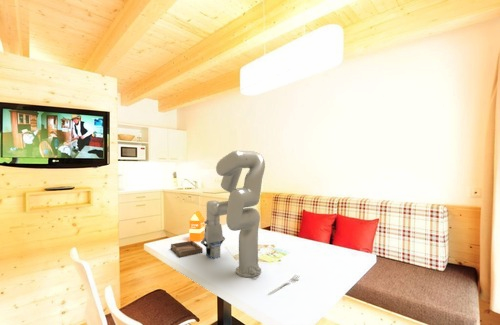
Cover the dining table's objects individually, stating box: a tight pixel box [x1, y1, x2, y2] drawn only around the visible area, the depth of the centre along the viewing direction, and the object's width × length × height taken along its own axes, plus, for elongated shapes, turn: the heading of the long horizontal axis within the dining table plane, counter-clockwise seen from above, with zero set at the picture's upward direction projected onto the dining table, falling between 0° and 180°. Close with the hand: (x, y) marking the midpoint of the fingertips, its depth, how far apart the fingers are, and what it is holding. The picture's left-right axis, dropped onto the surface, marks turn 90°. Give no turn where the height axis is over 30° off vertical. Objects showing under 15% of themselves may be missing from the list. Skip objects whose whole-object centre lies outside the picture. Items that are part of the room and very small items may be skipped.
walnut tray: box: [170, 240, 204, 258], centre depth 157 cm, size 18×14×3 cm
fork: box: [267, 274, 300, 296], centre depth 110 cm, size 3×24×2 cm, turn 135°
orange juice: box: [189, 210, 205, 243], centre depth 181 cm, size 8×9×20 cm
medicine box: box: [205, 242, 221, 260], centre depth 147 cm, size 8×4×9 cm, turn 47°
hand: (213, 253), depth 147 cm, fingers closed on medicine box, 5 cm apart
